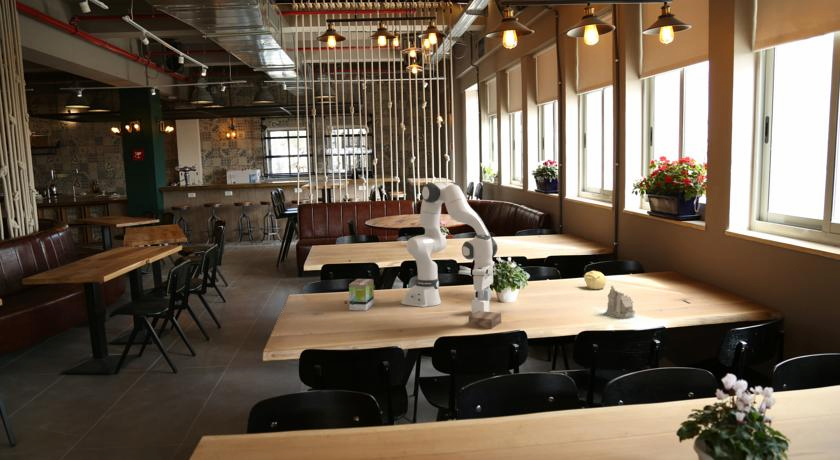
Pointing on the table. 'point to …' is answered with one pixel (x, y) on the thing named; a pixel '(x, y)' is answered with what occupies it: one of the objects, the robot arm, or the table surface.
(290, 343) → the table surface
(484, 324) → the walnut block
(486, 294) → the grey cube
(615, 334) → the table surface
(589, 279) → the pale yellow lumpy ball
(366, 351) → the table surface
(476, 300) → the medicine bottle
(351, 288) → the tea box
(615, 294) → the grey rock
